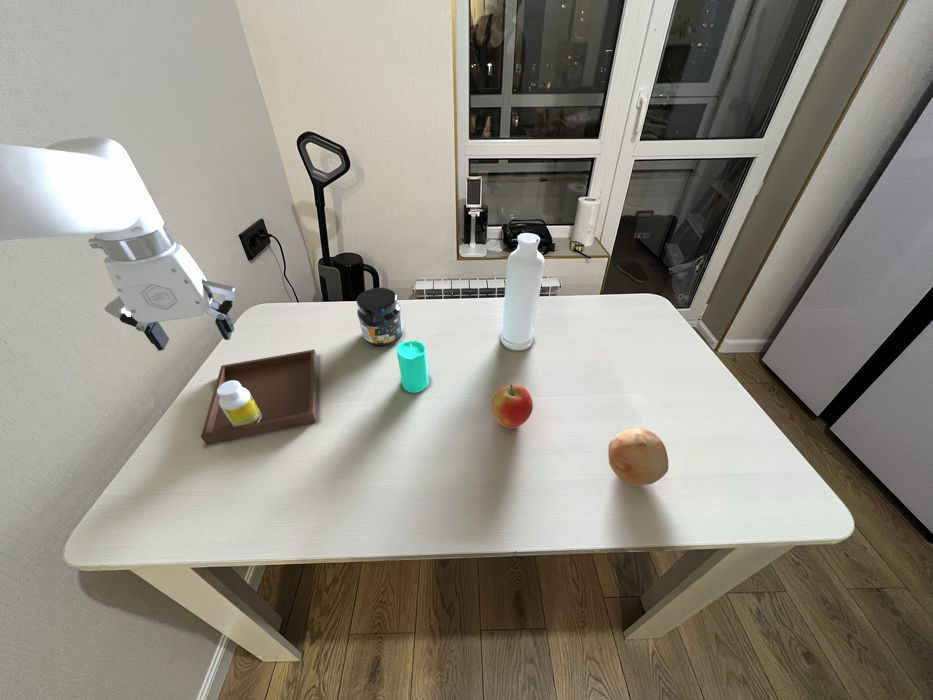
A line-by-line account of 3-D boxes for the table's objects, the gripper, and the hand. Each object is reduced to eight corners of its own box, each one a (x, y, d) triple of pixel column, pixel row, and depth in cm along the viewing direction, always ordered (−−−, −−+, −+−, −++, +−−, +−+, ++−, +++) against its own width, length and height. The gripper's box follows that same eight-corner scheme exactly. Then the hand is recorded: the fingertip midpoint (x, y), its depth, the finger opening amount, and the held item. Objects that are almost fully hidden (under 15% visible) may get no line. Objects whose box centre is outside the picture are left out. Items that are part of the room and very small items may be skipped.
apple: (506, 443, 74) (510, 410, 67) (483, 416, 79) (484, 383, 72) (537, 425, 77) (544, 392, 71) (513, 400, 82) (517, 367, 76)
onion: (653, 506, 65) (675, 475, 58) (595, 480, 68) (609, 448, 62) (661, 462, 71) (682, 430, 64) (608, 441, 74) (622, 408, 68)
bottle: (500, 329, 101) (508, 229, 82) (531, 330, 101) (545, 230, 82) (501, 349, 95) (510, 246, 76) (533, 350, 95) (550, 247, 76)
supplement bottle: (267, 417, 78) (249, 384, 72) (244, 435, 75) (223, 403, 68) (251, 406, 80) (232, 373, 74) (228, 423, 77) (206, 391, 70)
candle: (397, 389, 85) (390, 349, 77) (409, 371, 89) (403, 331, 81) (422, 395, 83) (417, 355, 75) (432, 377, 88) (429, 337, 80)
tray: (206, 445, 74) (200, 437, 72) (226, 373, 89) (221, 365, 87) (316, 421, 78) (312, 413, 76) (317, 357, 93) (314, 349, 91)
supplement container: (360, 349, 95) (350, 310, 87) (366, 324, 103) (358, 286, 95) (402, 348, 95) (396, 310, 87) (405, 323, 103) (400, 285, 95)
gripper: (48, 263, 47) (128, 364, 58) (203, 246, 50) (250, 344, 62) (77, 238, 52) (145, 335, 63) (214, 225, 56) (256, 318, 67)
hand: (197, 340), depth 62 cm, fingers open, 9 cm apart
